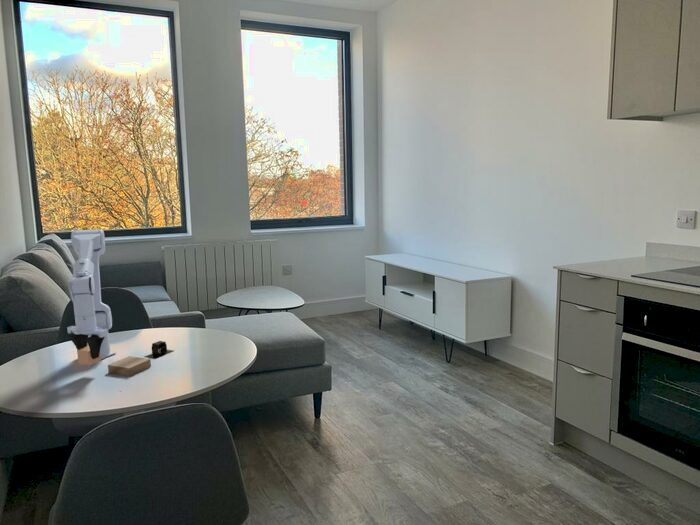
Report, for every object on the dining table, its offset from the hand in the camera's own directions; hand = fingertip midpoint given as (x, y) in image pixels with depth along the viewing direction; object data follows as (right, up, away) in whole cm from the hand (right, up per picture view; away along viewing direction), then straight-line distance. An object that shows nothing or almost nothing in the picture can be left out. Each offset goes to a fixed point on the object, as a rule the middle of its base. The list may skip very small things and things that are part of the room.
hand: (89, 357), depth 169 cm
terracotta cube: (0, -2, 0) cm, 2 cm away
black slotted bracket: (+15, -3, +20) cm, 25 cm away
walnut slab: (+11, -5, +5) cm, 13 cm away
